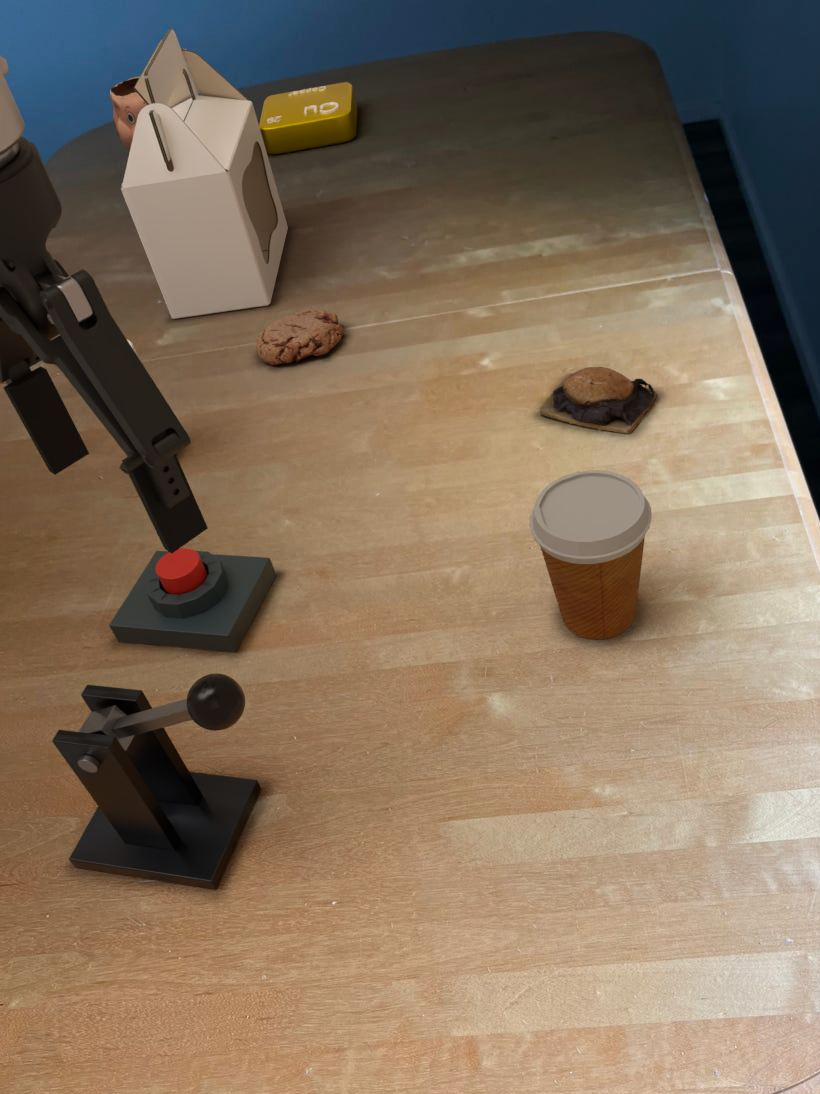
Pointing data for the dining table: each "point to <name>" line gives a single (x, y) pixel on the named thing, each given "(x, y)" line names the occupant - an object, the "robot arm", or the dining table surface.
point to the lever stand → (152, 803)
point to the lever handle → (175, 711)
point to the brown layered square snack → (600, 400)
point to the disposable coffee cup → (593, 548)
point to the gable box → (202, 188)
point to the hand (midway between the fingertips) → (125, 498)
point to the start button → (181, 571)
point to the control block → (196, 605)
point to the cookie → (299, 336)
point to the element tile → (309, 118)
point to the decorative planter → (126, 109)
